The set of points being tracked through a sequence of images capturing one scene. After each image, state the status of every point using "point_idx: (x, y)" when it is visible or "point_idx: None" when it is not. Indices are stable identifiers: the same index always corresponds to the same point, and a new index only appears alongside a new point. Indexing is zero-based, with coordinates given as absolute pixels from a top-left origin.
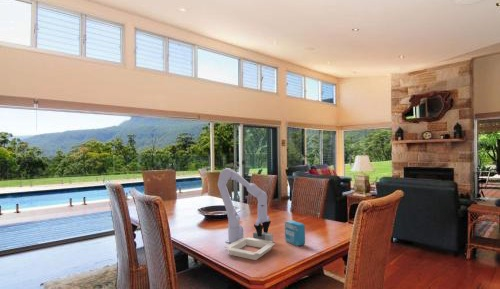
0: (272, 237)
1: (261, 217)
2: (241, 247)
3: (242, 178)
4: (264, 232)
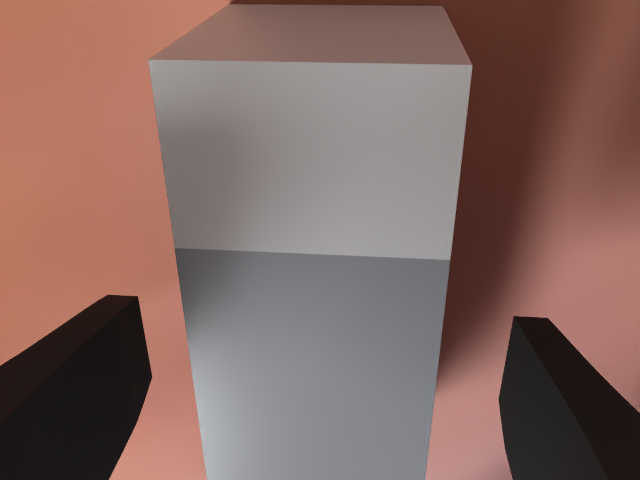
0: (231, 28)
1: None
2: None
3: None
4: (222, 360)
